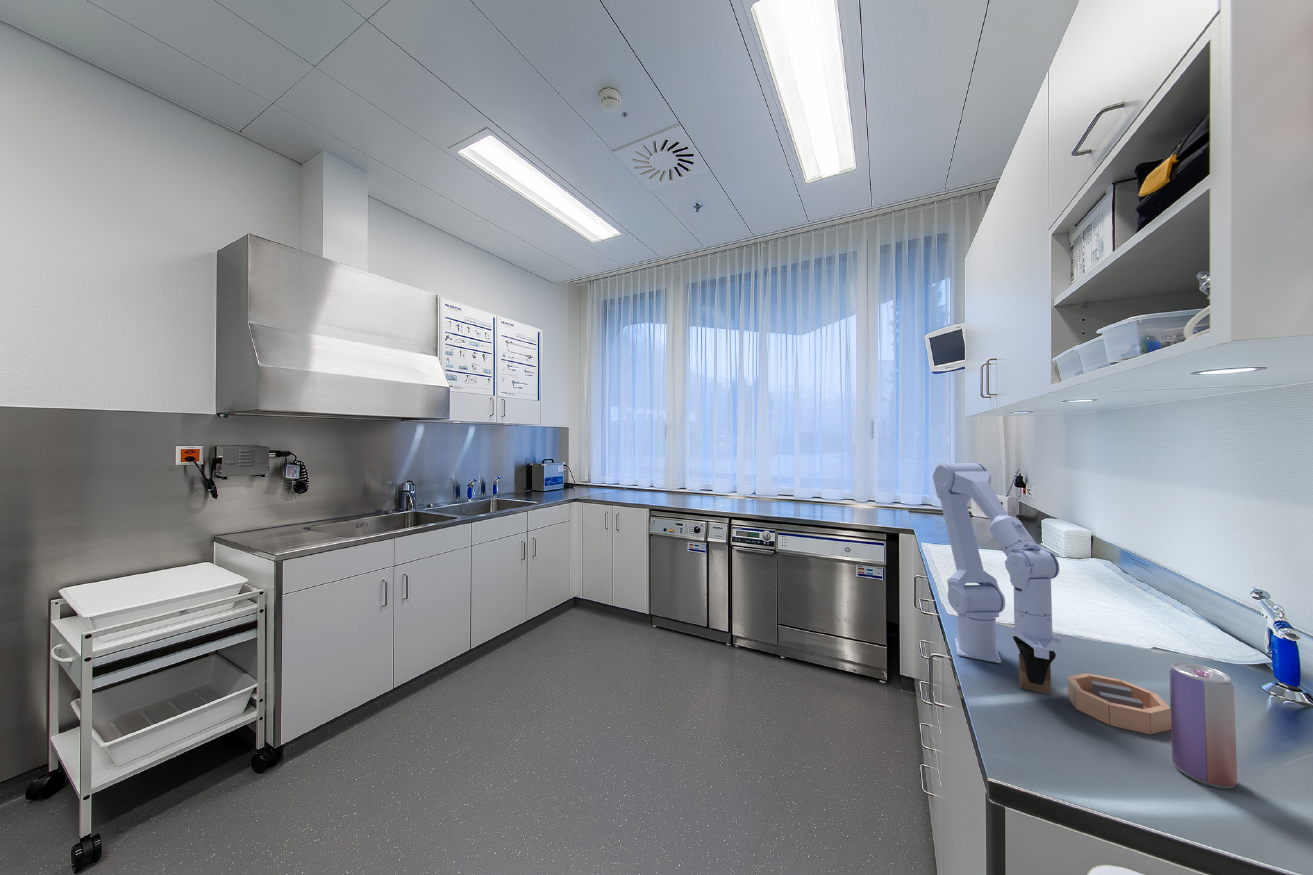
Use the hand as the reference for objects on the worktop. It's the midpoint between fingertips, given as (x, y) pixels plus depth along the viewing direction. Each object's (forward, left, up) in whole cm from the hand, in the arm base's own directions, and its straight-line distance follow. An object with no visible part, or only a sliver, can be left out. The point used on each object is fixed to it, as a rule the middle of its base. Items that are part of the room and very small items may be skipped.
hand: (1034, 680), depth 87 cm
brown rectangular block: (0, 0, -2) cm, 2 cm away
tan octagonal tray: (+2, +11, -2) cm, 11 cm away
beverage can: (+17, +16, -2) cm, 23 cm away
